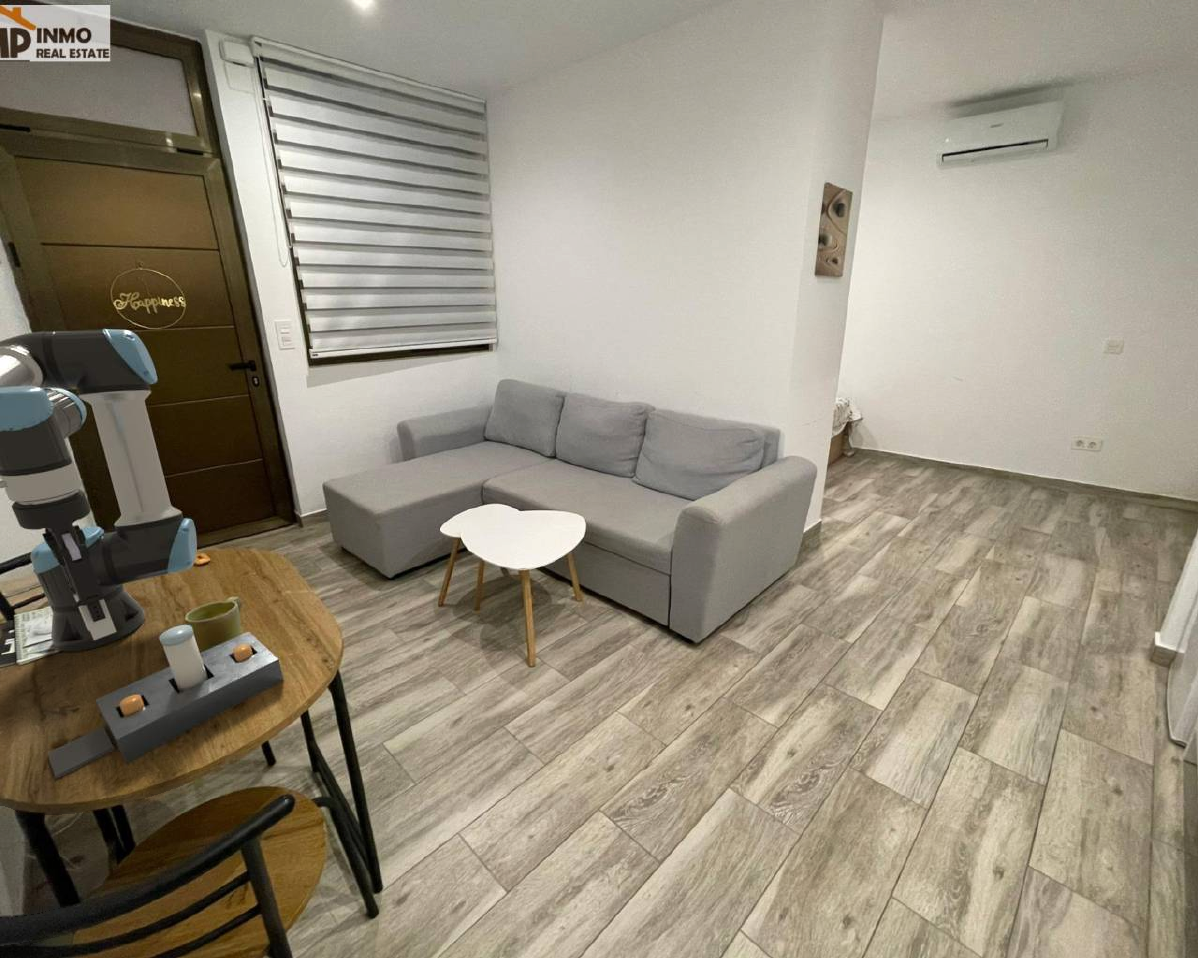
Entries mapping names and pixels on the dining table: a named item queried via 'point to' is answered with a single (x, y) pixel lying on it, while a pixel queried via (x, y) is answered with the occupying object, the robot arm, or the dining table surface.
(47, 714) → the dining table surface
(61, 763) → the mat
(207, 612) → the mug
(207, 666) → the housing
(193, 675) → the cartridge
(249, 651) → the orange egg shape
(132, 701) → the plunger near
